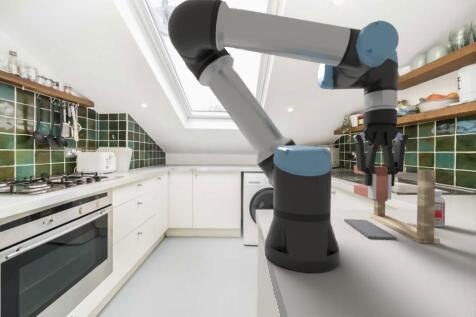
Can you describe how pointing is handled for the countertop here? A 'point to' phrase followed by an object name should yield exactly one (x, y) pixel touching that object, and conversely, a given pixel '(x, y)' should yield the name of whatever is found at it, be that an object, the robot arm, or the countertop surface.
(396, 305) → the countertop surface
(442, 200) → the pill bottle
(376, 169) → the c link
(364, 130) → the robot arm
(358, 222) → the mat
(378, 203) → the stand
